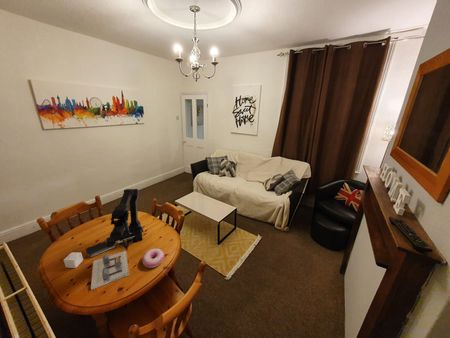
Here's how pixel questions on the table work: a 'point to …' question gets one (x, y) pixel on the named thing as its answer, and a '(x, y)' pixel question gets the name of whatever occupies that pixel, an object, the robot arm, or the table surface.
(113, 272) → the panel
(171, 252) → the table surface
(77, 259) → the white cube
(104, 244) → the black sponge
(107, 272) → the breaker
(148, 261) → the donut
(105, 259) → the block
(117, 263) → the breaker
